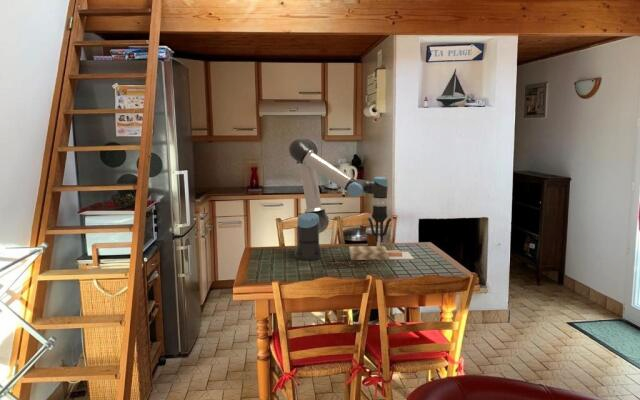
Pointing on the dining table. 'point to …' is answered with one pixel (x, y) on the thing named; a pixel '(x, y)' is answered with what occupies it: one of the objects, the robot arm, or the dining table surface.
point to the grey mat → (403, 257)
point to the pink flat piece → (395, 253)
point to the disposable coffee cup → (371, 237)
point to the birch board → (368, 253)
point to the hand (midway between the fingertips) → (378, 247)
